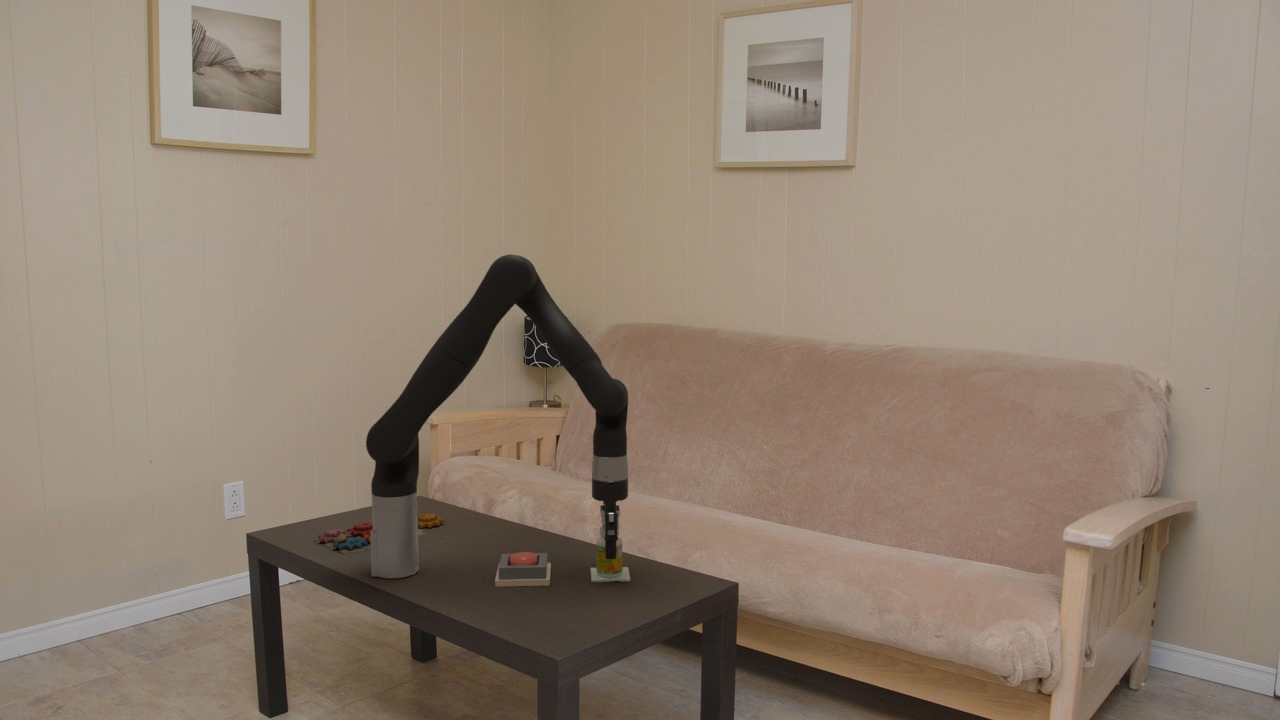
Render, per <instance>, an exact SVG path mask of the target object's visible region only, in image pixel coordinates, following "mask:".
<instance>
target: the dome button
mask: <svg viewBox="0 0 1280 720" xmlns="http://www.w3.org/2000/svg"><path fill="white" fill-rule="evenodd" d="M535 553H536V552H531V551H519V552H514V553H511V554H512V555H510V566H512V565H537V554H535Z"/></svg>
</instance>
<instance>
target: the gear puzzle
mask: <svg viewBox="0 0 1280 720" xmlns="http://www.w3.org/2000/svg"><path fill="white" fill-rule="evenodd" d="M417 517H418V538H420V537H419V536H421V535H426V536H427V532H424V531H426V530H425V529H422V528H432V527H434V526H435V527H436V526H440V525H441V524H443V523H445V519H443V517H442V516H437V514H435V513H426V514H425V513H424V514H420V515H419V516H417ZM372 529H373V524H372V523H370V522H362V523H357V524H354V525H353V527H352V528H351V527H350V528H348V529H347V530H345V529H342V528H332V529H328V530H326V531H324V532H323V533H322V534H319V535H317V538H316V540H318V541H319V542H322V543H324V542H323V541H325V543H326V544H328V545H330V544H333V545H332V547H333V548H339V549H338V551H339V550H340V551H343V552H349V551H354V550H355V551H356V552H358V551H362V550H365V549H364V548H368V547H371V546H370V545H371V541H370V533H371V531H372ZM420 539H421V538H420ZM325 543H324V544H325ZM365 551H366V550H365Z"/></svg>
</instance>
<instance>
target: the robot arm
mask: <svg viewBox="0 0 1280 720" xmlns="http://www.w3.org/2000/svg"><path fill="white" fill-rule="evenodd" d="M515 305H516V306H517V307H518V308H519V309H520V310H522V312H523V313H525V315H526V316H527V317H528V318H529V319H530V320H531V322H532V323H533V324H534V326H535V328H537V330H538V331H539V333H540V335H541V337H542V338H543V340H544V341H545V342H546V345H547V346H548V348H549V349H550V352H552V354H553V355H554V356H555V358H556V359H557V360H558V362H559V363H560V365H562V367H563V368H564V369H565V371H566V372H567V373H568V374H569V376H570V377H572V379H573V380H574V381H575V382H576V384H577V386H578V388H579V389H580V391H581V393H582V394H583V396H584V397H585V399H586V400H587V402H588V403H589V404H590V406H591V407H592V408H593V410H595V425H594V431H593V435H592V460H591V461H592V462H591V496H592V498H593V500H594V501H598V502H602V505H600V509H599V510H600V511H599V512H600V519H601V527H602V530H603V531H605V537H604V540H605V557H606V559H616V541H617V540H618V537H619V536H618V537H617V531H618V530H619V531H620V516H621V510H620V505H619V504H617V502H619V501H620V502H621V501H624V500H626V499H627V498H628V497H629V463H628V436H627V435H628V434H627V422H628V413H629V411H628V409H629V392H628V389H627V387H626V385H625V384H624V383H623V382H622V380H621V381H620V380H619V379H617V378H613V377H612V376H611V374H609V372H608V371H607V369H606V368H605V367H604V366H603V364H602V360H601V358H600V357H599V354H598V353H597V352H596V351H595V350H594V349H593V347H592V346H591V344H590V343H589V342H588V341H587V340H586V338H585V337H584V336H583V335H582V334H581V332H580V331H579V330H578V329H577V328H576V327H575V325H574V324H573V323H572V322H571V321H570V320H569V319H568V317H567V316H566V315H565V314H564V312H563V311H562V310H561V308H560V307H559V306H558V304H557V303H556V302H555V300H554V298H552V296H551V295H550V293H549V291H548V290H547V288H546V286H545V285H544V282H543V281H542V279H541V277H540V275H539V274H538V271H536V267H535V265H534V264H533V263H532V262H531V261H530V260H529V259H527V257H525V256H522V255H517V254H506V255H502V256H500V257H498V258H496V260H494V261H493V263H492V264H490V267H489V268H488V270H487V272H485V275H484V277H483V278H482V281H481V282H480V284H479V286H478V287H477V289H476V291H475V292H474V293H473V295H472V297H471V299H470V300H469V301H468V302H467V304H466V305H465V306H464V308H462V309H461V311H460V312H459V313H458V315H456V316H455V318H454V319H453V320H452V321H451V323H449V325H448V326H447V327H446V329H444V331H443V332H442V333H441V335H440V336H439V337H438V338H437V340H436V341H435V342H434V344H433V346H432V347H431V348H430V349H429V351H428V352H427V353H426V355H425V356H424V358H423V359H422V361H421V362H420V364H419V365H418V367H417V368H416V370H415V371H414V373H413V375H412V376H411V377H410V379H409V381H408V383H407V384H406V386H405V388H404V390H403V391H402V392H401V394H400V395H399V396H398V398H397V399H396V400H395V401H394V402H393V404H391V406H390V407H389V408H388V409H387V411H386V412H385V413H384V414H383V415H381V417H379V419H378V420H377V421H376V422H375V423H373V425H372V426H371V427H370V429H369V430H368V433H367V435H366V439H365V440H366V441H365V446H366V447H365V448H366V450H367V451H366V452H367V453H368V455H369V456H370V458H371V459H372V460H374V461H375V462H374V463H375V464H374V465H375V467H374V472H373V477H372V479H371V484H370V485H371V486H370V487H371V491H370V492H371V513H372V515H371V517H372V519H371V520H372V522H371V524H373V529H372V531H371V533H370V541H371V548H370V565H371V566H370V568H371V569H370V570H371V573H370V574H371V576H370V577H378V578H382V579H401V578H406V577H410V575H411V576H413V575H415V574H417V573H418V572H419V562H420V561H419V560H420V559H419V539H418V530H419V526H418V517H419V516H418V478H419V472H420V438H419V432H420V431H421V430H422V428H423V426H424V425H425V423H426V422H427V421H428V419H429V418H430V417H431V416H432V414H434V412H435V411H436V410H438V408H439V407H440V406H441V405H443V404H444V403H445V401H446V400H447V399H448V398H450V397H451V396H452V394H453V393H454V392H455V391H456V390H457V389H458V388H459V387H460V386H461V384H462V383H463V382H464V381H465V379H466V378H467V377H468V375H469V374H470V373H471V371H472V370H473V369H474V367H475V366H476V365H477V363H478V362H479V360H480V359H481V357H482V355H483V353H484V351H485V349H486V348H487V345H488V344H489V341H490V339H491V337H492V335H493V333H494V331H495V330H496V327H497V326H498V325H499V323H500V322H501V321H502V320H503V318H504V317H505V316H506V315H507V314H508V312H509V311H510V310H511V309H512V308H513V307H514V306H515ZM608 531H614V535H608ZM416 572H417V573H416Z"/></svg>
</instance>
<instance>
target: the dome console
mask: <svg viewBox="0 0 1280 720" xmlns="http://www.w3.org/2000/svg"><path fill="white" fill-rule="evenodd" d="M534 553H535V554H537V565H512V566H510V555H512V554H513V553H501V556H500V559H499V563H498V567H497V570H496V575H495V579H494V587H495V588H498V587H499V588H500V587H504V588H505V587H538V586H539V587H542V586H544V587H545V586H546V587H547V586H548V587H549V586H550V585H551V573H552V572H551V571H552V569H551V568H552V567H551V566H552V563H551V562H548V552H534Z"/></svg>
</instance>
